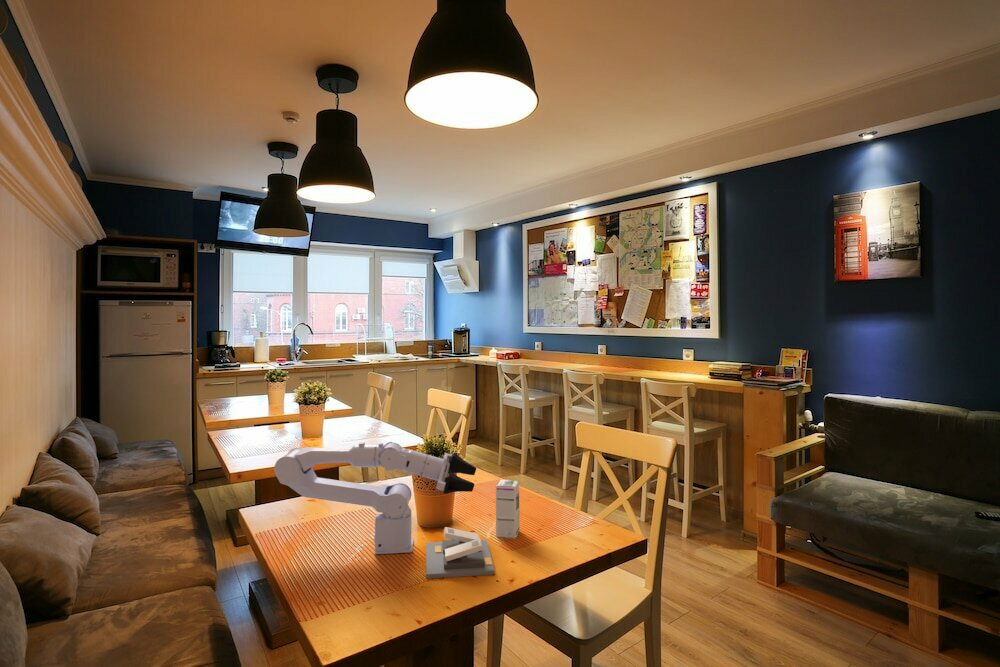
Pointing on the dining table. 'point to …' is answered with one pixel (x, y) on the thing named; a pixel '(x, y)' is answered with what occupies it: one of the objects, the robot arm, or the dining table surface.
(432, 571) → the switch board
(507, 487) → the syrup box
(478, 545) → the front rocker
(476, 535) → the back rocker
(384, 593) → the dining table surface
